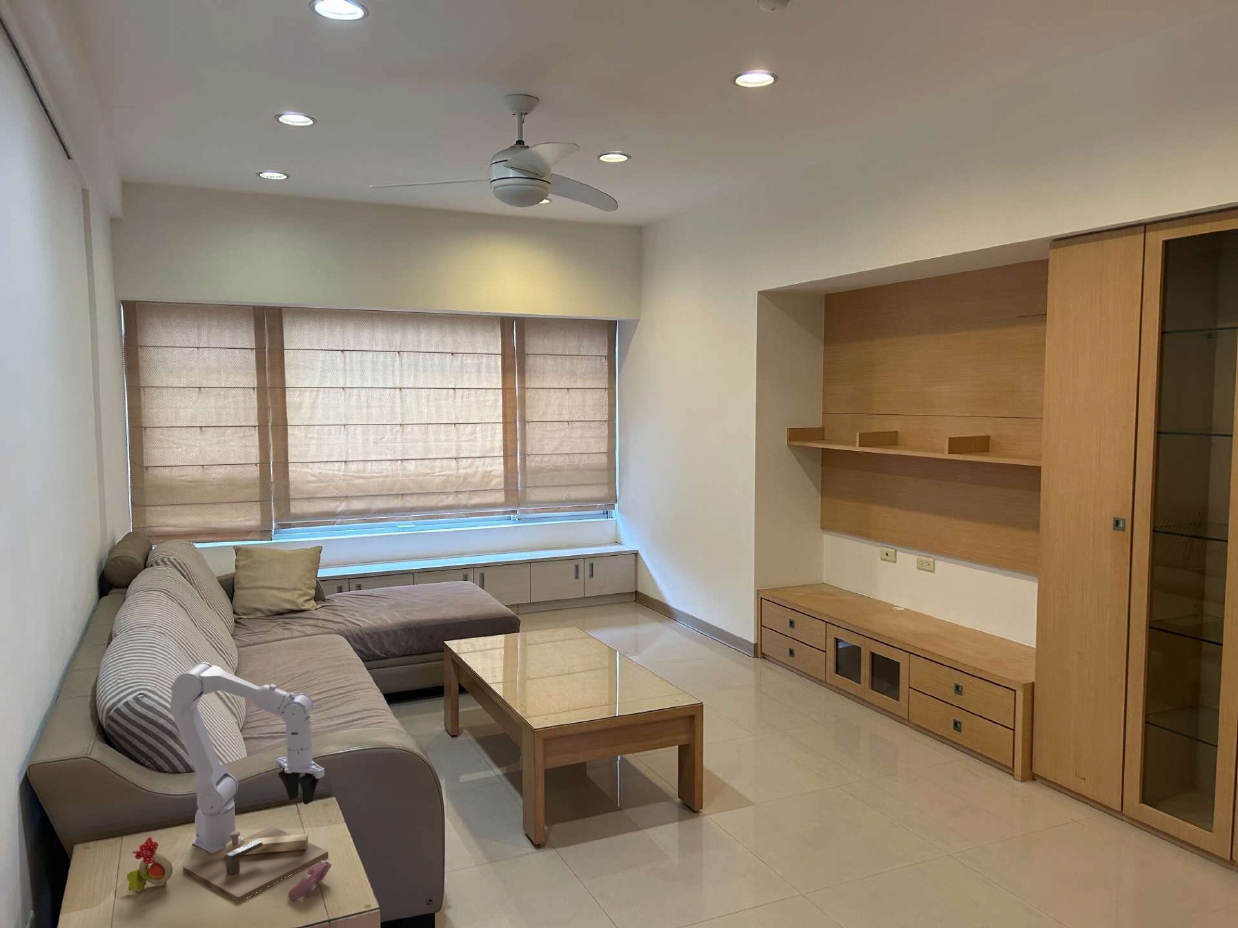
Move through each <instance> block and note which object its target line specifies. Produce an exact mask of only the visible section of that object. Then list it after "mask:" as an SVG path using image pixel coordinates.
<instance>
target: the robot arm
mask: <svg viewBox="0 0 1238 928" xmlns="http://www.w3.org/2000/svg"><path fill="white" fill-rule="evenodd" d="M170 690H171V699H170V700H171V701H170V705H169V706H170V708H169V709H170V713H171V714H172V718H173V720H174V723H175V724H176V727H177V729H178V731H179V735H180V737H181V740H182V742H183V743H184V747H185V749H186V752H187V754H188V757H189V759H190V763H192V764H191V765H192V766H193V768H194V771H195V773H196V783H195V789H194V790H195V792H196V805H197V806H196V807H197V810H196V813H195V816H194V826H195V827H194V828H195V840H193V841H192V844H193V845H195V846H197V847H199V848H201V849H203V850H204V851H206V852H209V853H210V854H212V853H214V852H216V851H218V850H220V849H223V848H225V847H226V844H227V843H228V842H230V841H232V838H231V837H230V833H232V832H234V831H237V830H236V812H235V811H236V810H235V809H236V807H235V800H234V798H235V797H234V796H235V795H236V794H237V792H238V789H239V782H238V780H237V779H236V777H235V776H233V775H232V774H231V772H230V771H229V769H228V766H225V765H224V764H221V762H220V761H219V758H218V755H217V753H216V750H215V748H214V745H213V743H212V740H211V738H210V736H209V733H208V731H207V728H206V726H205V722H204V721H203V718H202V715H201V713H200V711H199V709H198V704H199V702H200V700H201V698H202V697H203V695H208V694H212V693H215V692H218V691H221V692H224V693H227V694H231V695H234V696H238V697H241V698H244V699H247V700H250V701H252V703H253V705H254V707H255V708H256V709H259V710H262V711H265V712H267V713H270V714H273V715H275V716H277V717H279V718H281V719H282V720H283V722H284V723H285V740H286V741H285V742H286V743H285V745H286V757H285V756H281V757H279V758H276V759H275V767H276V768H278V769H280V768H282V770H281V771H279V772H278V777H279V778H280V780H281V781H282V784H283V785H284V787H285V791H286V793H287V797H288V799H289V800H290V801H293V800H294V799H296V798H298V796H299V790H300V788H301V793H302V802H303V804H304V805H309V804H311V803H313V800H314V795H315V792H316V788H317V785H318V783H319V781H320V779H322V778H323V777H325V776H326V775H325V767H323V766H320V765H319V764H317V763H316V761H314V760H313V752H312V751H313V749H312V724H311V723H312V722H311V713H312V712H313V710H314V702H313V699H312V698H311V697H310V696H309V695H307V694H305V693H302V692H300V693H295V692H294V691H293V692H288V691H285V690H283V689H280V688H279V687H278V688H277V685H276V684H273V683H271V684H270V685H269V684H264V685H262V686H259V685H256V684H254V683H251V682H249V681H248V680H245V679H243V678H240V677H238V676H236V675H234V674H231V672H230V673H229V672H227V671H225V670H224V669H222V668H221V667H220V665H219V666H218V665H215V664H214V665H212V664H211V663H209V662H207V661H206V662H205V661H202V662H198V663H196V664H194V665H193V666H192V667H191V668H189V669H188V670H186V671H185V672H184V673H181V674H179V675H178V676H177V677H176V678H175V680H174V681H173V683H172V685H171V686H170ZM301 774H304V775H302V776H301ZM238 839H244V837H242V836H238Z"/></svg>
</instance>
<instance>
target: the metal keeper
mask: <svg viewBox="0 0 1238 928" xmlns="http://www.w3.org/2000/svg"><path fill="white" fill-rule="evenodd" d="M261 846H262V841H260V840H258V839H257V840H254V841H252V842H250V843H248V844H246V845H244V846H241V847H239V848H237V849H235V850H233V851H231V852H229V853H226V872H227V874H229V875H231V876H233V875H235V874H237V873H239V872H240V863H239V857H240V856H242V855H244V854H246V853H248V852H250V851H253V850H255V849H257V848H259V847H261Z"/></svg>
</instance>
